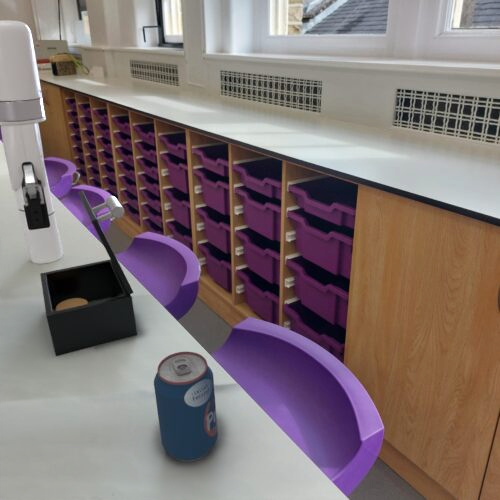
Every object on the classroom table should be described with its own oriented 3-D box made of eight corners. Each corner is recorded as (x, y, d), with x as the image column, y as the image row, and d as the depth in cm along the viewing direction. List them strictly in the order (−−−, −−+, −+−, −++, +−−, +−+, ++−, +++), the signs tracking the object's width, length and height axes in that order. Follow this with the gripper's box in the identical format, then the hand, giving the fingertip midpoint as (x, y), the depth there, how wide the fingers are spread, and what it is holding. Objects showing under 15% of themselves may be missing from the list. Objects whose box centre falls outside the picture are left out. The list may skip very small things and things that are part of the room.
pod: (88, 335, 82) (84, 312, 80) (57, 337, 82) (51, 314, 80) (94, 318, 87) (90, 297, 85) (65, 320, 86) (60, 298, 84)
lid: (91, 221, 70) (124, 206, 72) (77, 192, 83) (106, 180, 85) (129, 295, 77) (158, 280, 78) (111, 257, 90) (137, 245, 92)
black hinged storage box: (57, 364, 76) (46, 316, 73) (50, 316, 90) (40, 273, 86) (138, 342, 81) (131, 296, 77) (120, 299, 94) (113, 258, 91)
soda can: (225, 456, 59) (219, 377, 54) (168, 473, 57) (157, 392, 52) (209, 417, 65) (203, 343, 60) (158, 431, 63) (147, 355, 58)
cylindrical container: (32, 253, 115) (7, 148, 105) (63, 248, 117) (42, 145, 107) (29, 265, 109) (2, 155, 99) (63, 260, 111) (40, 152, 101)
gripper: (-8, 105, 79) (13, 205, 86) (-13, 122, 64) (13, 240, 71) (41, 102, 82) (58, 200, 89) (47, 118, 67) (67, 233, 74)
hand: (38, 218), depth 80 cm, fingers open, 9 cm apart
